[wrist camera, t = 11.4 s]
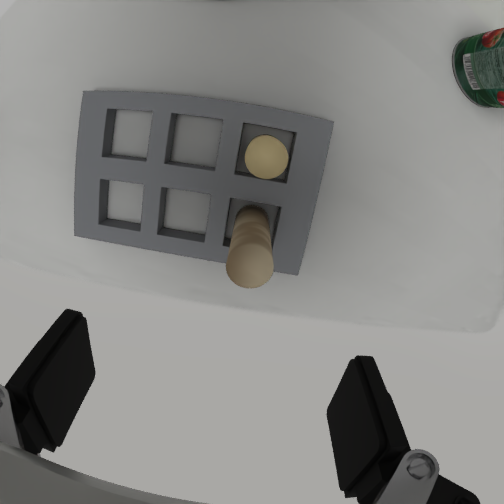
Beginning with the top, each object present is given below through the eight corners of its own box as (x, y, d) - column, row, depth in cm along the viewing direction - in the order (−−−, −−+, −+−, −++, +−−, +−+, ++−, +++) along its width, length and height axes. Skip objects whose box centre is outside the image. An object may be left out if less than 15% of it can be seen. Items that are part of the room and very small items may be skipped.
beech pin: (271, 208, 29) (278, 249, 20) (264, 238, 30) (268, 291, 21) (238, 202, 29) (229, 241, 20) (233, 233, 30) (222, 284, 21)
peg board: (328, 121, 26) (346, 121, 21) (295, 266, 31) (303, 297, 26) (93, 92, 25) (59, 88, 20) (83, 229, 30) (53, 251, 25)
